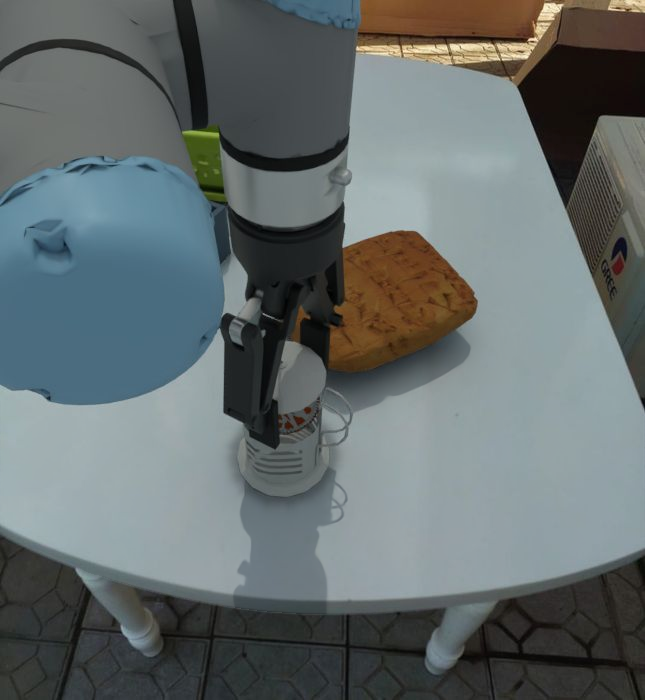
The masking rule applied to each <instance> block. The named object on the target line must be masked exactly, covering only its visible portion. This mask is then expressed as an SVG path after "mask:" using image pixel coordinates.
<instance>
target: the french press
mask: <svg viewBox="0 0 645 700" xmlns="http://www.w3.org/2000/svg"><path fill="white" fill-rule="evenodd" d="M276 320H277V321H279V322H280V320H278V319H276ZM326 379H327V375H326V369H325V367H324V364H323V362H322V359H321V358H320V357H319V356H318V355H317V354H316V353H315V352H314V351H313V350H312V349H311V348H309V347H306V346H304V345H301V344H299V343H297V342H292V340H290V341H289V340H285V345H284V349H283V354H282V358H281V362H280V367H279V371H278V376H277V380H276V385H275V389H274V393H273V399H275V400H277V401H278V414H279V434H280V444H279V446H278V447H277V449H276V450H275V449H273V448H271V447H269V446H267V445H265V444H263V443H261V442H259V441H257V440H255V439H253V438H251V437H249V429H248V428H247V427H246V425H245V424H244V423H242V430H243V437H242V439H241V440H240V441H239V446H238V451H237V455H236V459H237V460H236V461H237V465H238V468H239V472H240V475H241V476H242V477H243V478H244V479H245V481H246V482H247V483H248V485H250V487H251V488H253V489H255V490H257V491H259V492H261V493H263V494H264V495H267V496H271V497H281V498H282V497H283V498H289V497H292V496H296V495H299V494H303V493H306V492H308V491H309V490H310V489H311V488H313V487H314V486H315V485H317V484H318V483H319V482H321V480H322V478H323V477H324V475H325V474H326V471H327V470H328V468H329V462H330V451H331V449H330V448H331V447H336V446H339V445H341V444H342V443H344V442H345V441H346V440H347V438H348V437H349V431H350V430H349V426H350V425H351V424H352V421H353V417H354V411H353V408H352V406H351V404H350V403H349V400H347V399H346V397H344V396H343V395H342V394H341V393H340V392H338V391H336V390H335V389H333V388H332V387H325V386H326ZM327 391H329V392H331V393H332V394H334V395H336V396H338V398H340V400H342V401H343V402H344V404H345V405H346V407H347V408H348V410H349V419H348V421H347V420H346V418H345V417H344V415H343V414H342V413H341V412H340V411H339V410H338V409H337V408H336V407H335V406H333V405H331V404H329V403H327V402H325V398H326V394H327ZM321 393H322V396H321V398H320V395H321ZM323 406H326V407H327V408H329V409H331V410H332V411H334V412H335V414H337V415H338V416H339V417H340V419H341V420H342V422H343V423H344V426H343V427H342V428H339V429H336V430H335V429H334V430H333V429H332V430H322V421H323ZM344 431H345V432H344ZM340 432H344V436H343V438H341V439H340V440H339V441H338V442H334V443H327V440H326V437H325V435H324V434H335V433H340Z"/></svg>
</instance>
